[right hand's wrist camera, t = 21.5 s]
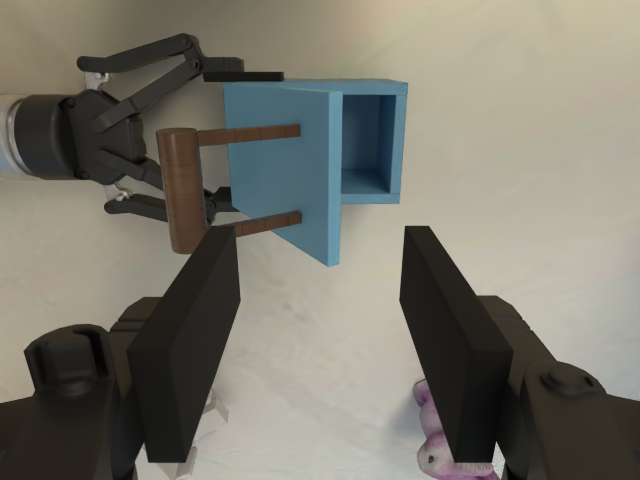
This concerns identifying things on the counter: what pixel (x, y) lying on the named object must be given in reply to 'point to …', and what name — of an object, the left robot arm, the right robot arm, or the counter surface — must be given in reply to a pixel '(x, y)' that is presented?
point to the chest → (366, 135)
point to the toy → (170, 475)
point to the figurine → (443, 446)
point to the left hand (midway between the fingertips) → (284, 138)
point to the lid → (263, 168)
